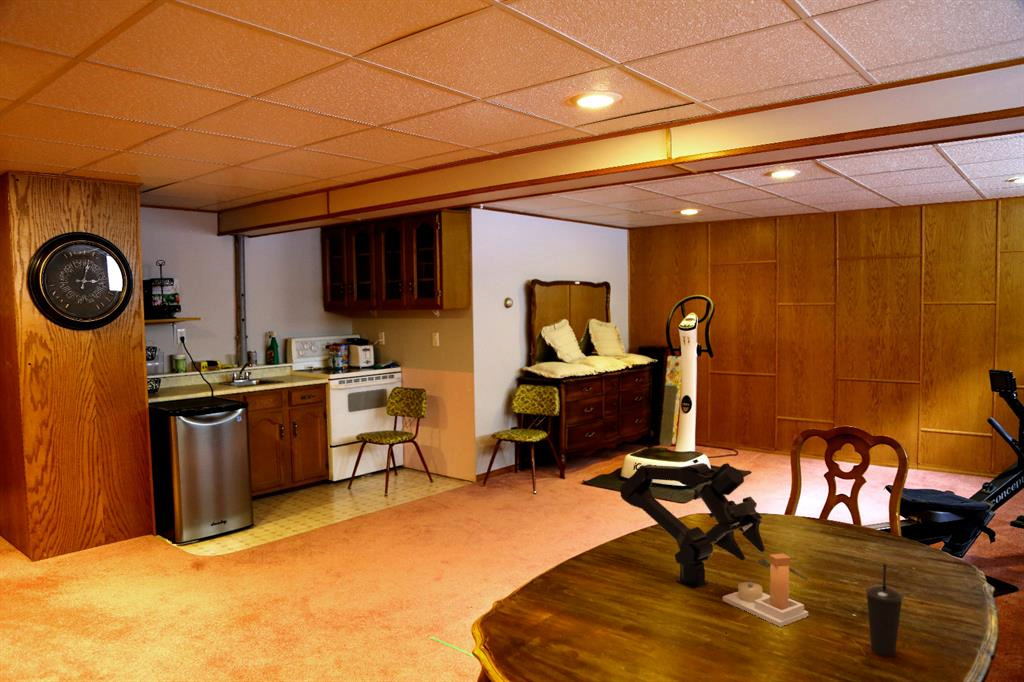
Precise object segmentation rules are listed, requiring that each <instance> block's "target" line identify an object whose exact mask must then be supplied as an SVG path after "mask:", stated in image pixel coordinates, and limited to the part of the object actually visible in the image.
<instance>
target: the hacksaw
mask: <svg viewBox="0 0 1024 682" xmlns="http://www.w3.org/2000/svg"><path fill="white" fill-rule="evenodd" d="M759 562H761V563H762V564H761V563H760V564H761V565H763V564H764V565H763V566H765V565H766V566H767V567H766V566H765V567H766V568H768V567H769V568H770V566H771V563H768V562H767V560H766V559H764V558H759V559H758V563H759ZM769 568H768V569H769ZM789 570H790V571H791V572H790V571H789V572H790V573H792V572H793V573H792V574H794V573H795V574H794V575H796V574H797V576H798V575H799V576H801V577H802V578H801V577H800V578H801V579H803V578H804V579H803V580H805V579H806V580H805V581H807V579H809V580H813V579H810V578H807V577H805V576H804V575H802V574H801V573H799V572H798V571H796V570H794V569H793V568H791V567H789ZM799 576H798V577H799ZM828 584H829V586H833V587H834V586H835V585H834V584H832V583H828ZM821 585H824V583H823V582H822V584H821Z"/></svg>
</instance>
